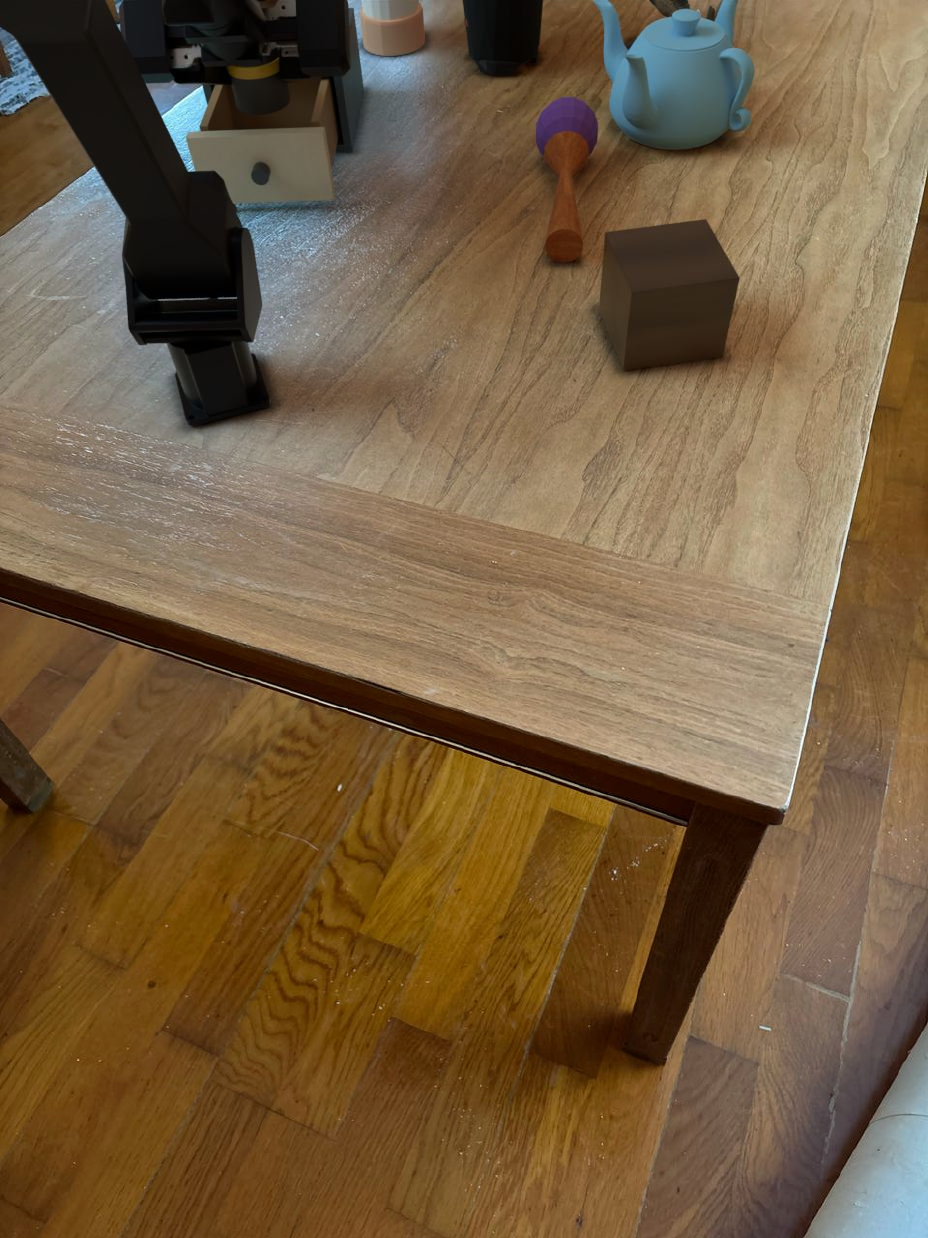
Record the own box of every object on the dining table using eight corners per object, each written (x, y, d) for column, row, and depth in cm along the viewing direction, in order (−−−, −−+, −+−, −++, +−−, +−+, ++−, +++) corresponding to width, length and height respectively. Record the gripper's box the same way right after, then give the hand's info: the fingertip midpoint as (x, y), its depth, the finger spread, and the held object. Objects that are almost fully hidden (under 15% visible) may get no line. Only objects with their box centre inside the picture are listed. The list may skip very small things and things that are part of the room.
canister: (290, 86, 88) (279, 27, 84) (292, 111, 85) (281, 52, 81) (235, 92, 88) (221, 34, 84) (235, 118, 85) (221, 59, 81)
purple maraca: (523, 221, 79) (531, 90, 89) (535, 279, 84) (542, 149, 94) (594, 209, 77) (594, 77, 88) (602, 269, 82) (601, 138, 93)
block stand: (723, 357, 73) (740, 277, 68) (623, 371, 73) (631, 292, 67) (692, 297, 78) (706, 218, 72) (598, 310, 77) (604, 231, 72)
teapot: (761, 156, 91) (785, 41, 83) (606, 168, 91) (616, 53, 83) (725, 87, 100) (744, -24, 91) (585, 97, 100) (591, -12, 91)
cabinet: (352, 152, 95) (340, 66, 88) (220, 156, 96) (198, 72, 89) (363, 89, 103) (353, 7, 97) (242, 94, 104) (223, 12, 97)
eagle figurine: (720, 24, 106) (647, -3, 107) (729, -21, 99) (651, -49, 100) (691, 86, 106) (618, 58, 107) (698, 45, 99) (620, 16, 100)
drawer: (333, 207, 87) (321, 139, 82) (201, 211, 88) (182, 144, 83) (347, 134, 95) (337, 68, 90) (227, 139, 96) (210, 73, 91)
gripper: (326, -135, 69) (360, -23, 85) (79, -123, 70) (156, -14, 85) (332, 28, 71) (364, 109, 86) (90, 38, 72) (164, 117, 87)
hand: (262, 77), depth 86 cm, fingers closed on canister, 5 cm apart
